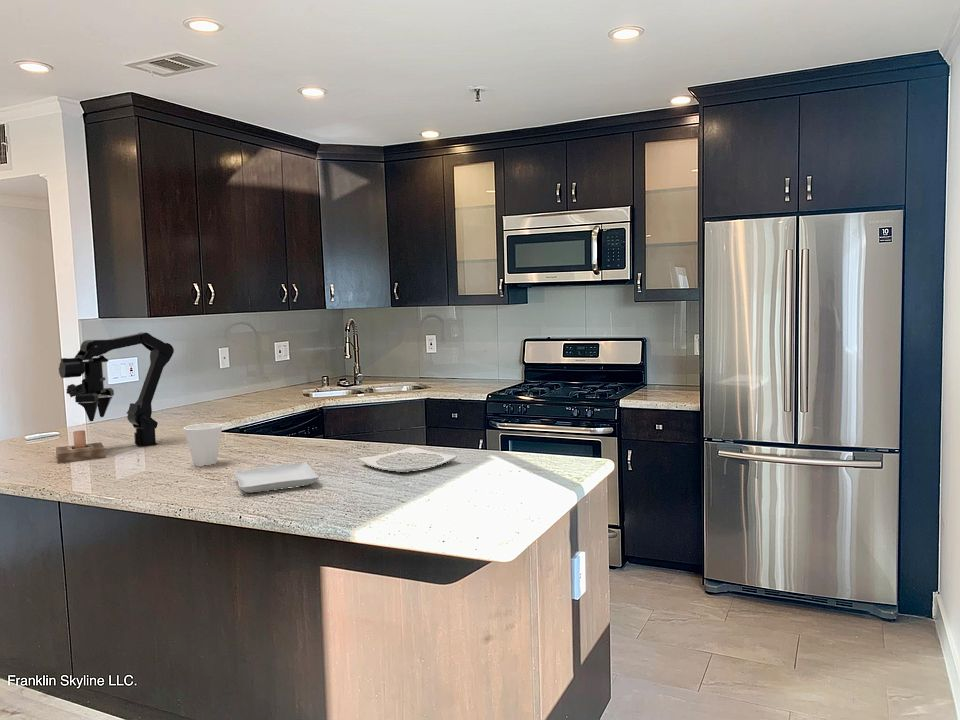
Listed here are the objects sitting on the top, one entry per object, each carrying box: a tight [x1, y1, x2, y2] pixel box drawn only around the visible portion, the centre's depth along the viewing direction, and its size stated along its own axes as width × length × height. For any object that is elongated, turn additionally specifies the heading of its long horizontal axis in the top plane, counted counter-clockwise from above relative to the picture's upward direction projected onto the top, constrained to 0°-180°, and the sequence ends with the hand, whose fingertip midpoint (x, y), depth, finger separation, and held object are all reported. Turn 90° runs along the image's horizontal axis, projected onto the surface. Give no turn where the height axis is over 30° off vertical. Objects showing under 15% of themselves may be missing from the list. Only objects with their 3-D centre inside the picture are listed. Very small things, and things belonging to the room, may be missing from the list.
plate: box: [358, 446, 458, 473], centre depth 222 cm, size 24×24×3 cm
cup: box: [183, 422, 223, 467], centre depth 229 cm, size 12×12×12 cm
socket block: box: [55, 441, 106, 464], centre depth 246 cm, size 14×14×4 cm
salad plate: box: [232, 461, 320, 494], centre depth 202 cm, size 21×21×3 cm
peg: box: [72, 429, 87, 449], centre depth 246 cm, size 4×4×9 cm
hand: (96, 419), depth 252 cm, fingers open, 9 cm apart
